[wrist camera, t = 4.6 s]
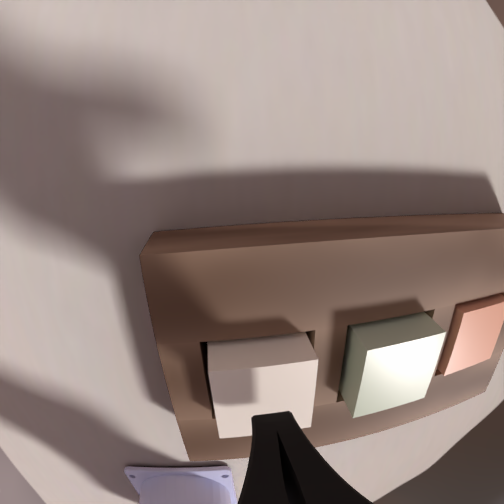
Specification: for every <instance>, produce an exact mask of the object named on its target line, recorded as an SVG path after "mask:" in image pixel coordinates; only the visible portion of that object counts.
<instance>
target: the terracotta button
mask: <svg viewBox="0 0 504 504" xmlns="http://www.w3.org/2000/svg"><path fill="white" fill-rule="evenodd" d="M503 321H504V296H503V295H502V294H500V293H499V294H495V295H492V296H488V297H484V298H480V299H476V300H472V301H468V302H464V303H460V304H456V305H455V309H454V313H453V317H452V321H451V324H450V328H449V331H448V335H447V338H446V342H445V345H444V348H443V352H442V355H441V358H440V361H439V364H438V367H437V369H438V370H439V371H440V372H441V373H442V374H443V376H446V375H448V374H451V373H454V372H457V371H459V370H462V369H465V368H467V367H470V366H473V365H475V364H478V363H480V362H483V361H485V360H487V359H490V358H491V355H492V352H493V350H494V347H495V344H496V342H497V339H498V336H499V333H500V330H501V327H502V324H503Z"/></svg>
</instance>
